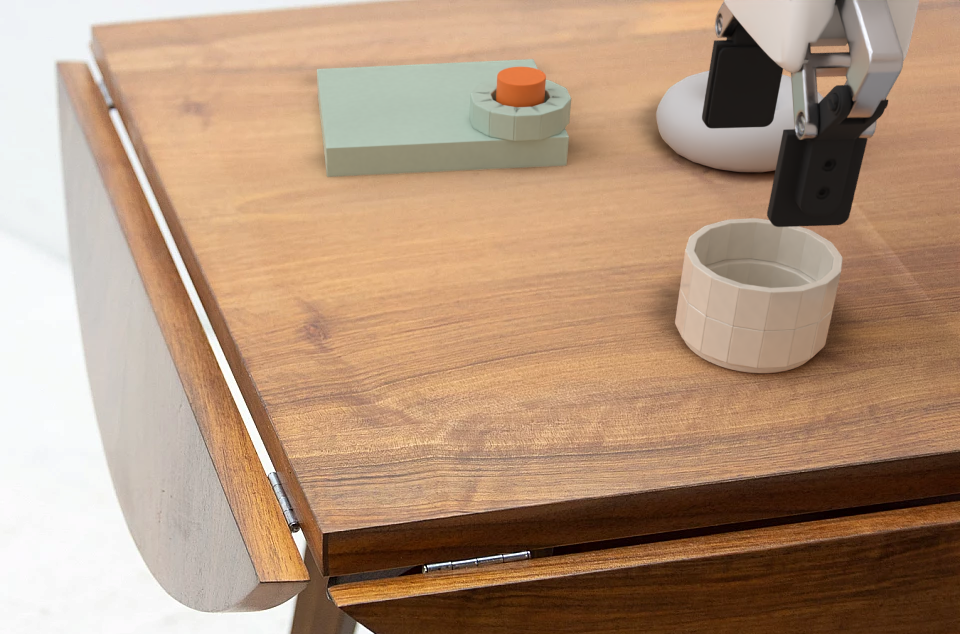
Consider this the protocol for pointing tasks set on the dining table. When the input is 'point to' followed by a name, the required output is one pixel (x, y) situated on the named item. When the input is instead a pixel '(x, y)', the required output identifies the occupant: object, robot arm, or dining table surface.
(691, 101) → the donut
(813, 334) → the bowl
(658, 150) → the dining table surface
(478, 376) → the dining table surface
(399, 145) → the scale
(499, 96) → the button
